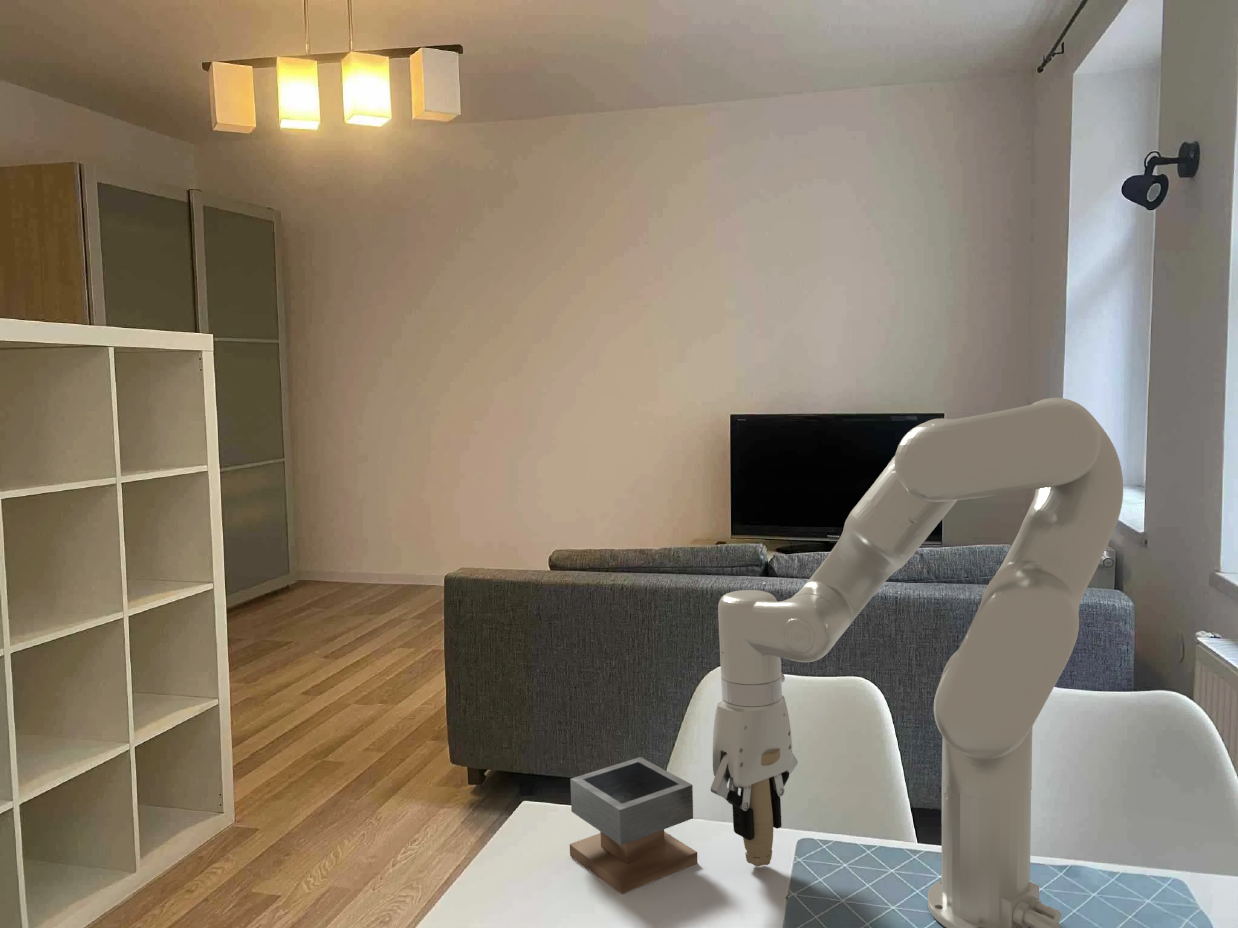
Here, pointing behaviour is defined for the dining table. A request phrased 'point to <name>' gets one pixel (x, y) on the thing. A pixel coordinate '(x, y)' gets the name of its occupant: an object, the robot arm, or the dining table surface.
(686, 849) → the stand
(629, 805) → the grey open box
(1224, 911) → the dining table surface
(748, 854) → the handle
